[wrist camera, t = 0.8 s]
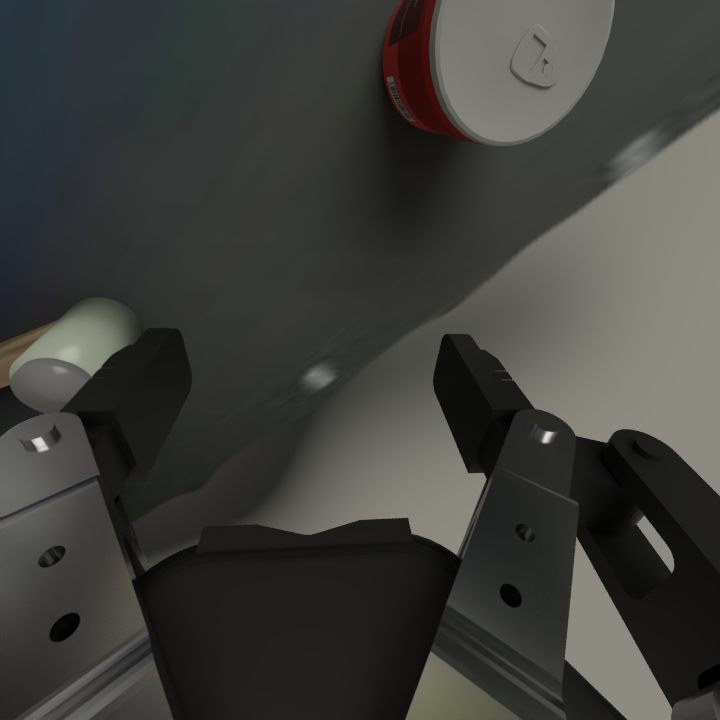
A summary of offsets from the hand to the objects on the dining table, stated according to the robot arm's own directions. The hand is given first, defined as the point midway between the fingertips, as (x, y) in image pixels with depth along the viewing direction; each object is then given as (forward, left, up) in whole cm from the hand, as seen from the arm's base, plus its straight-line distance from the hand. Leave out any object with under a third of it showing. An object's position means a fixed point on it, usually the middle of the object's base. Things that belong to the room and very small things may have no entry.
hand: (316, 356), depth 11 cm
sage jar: (+3, -20, -20) cm, 29 cm away
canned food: (-5, +12, -21) cm, 24 cm away
